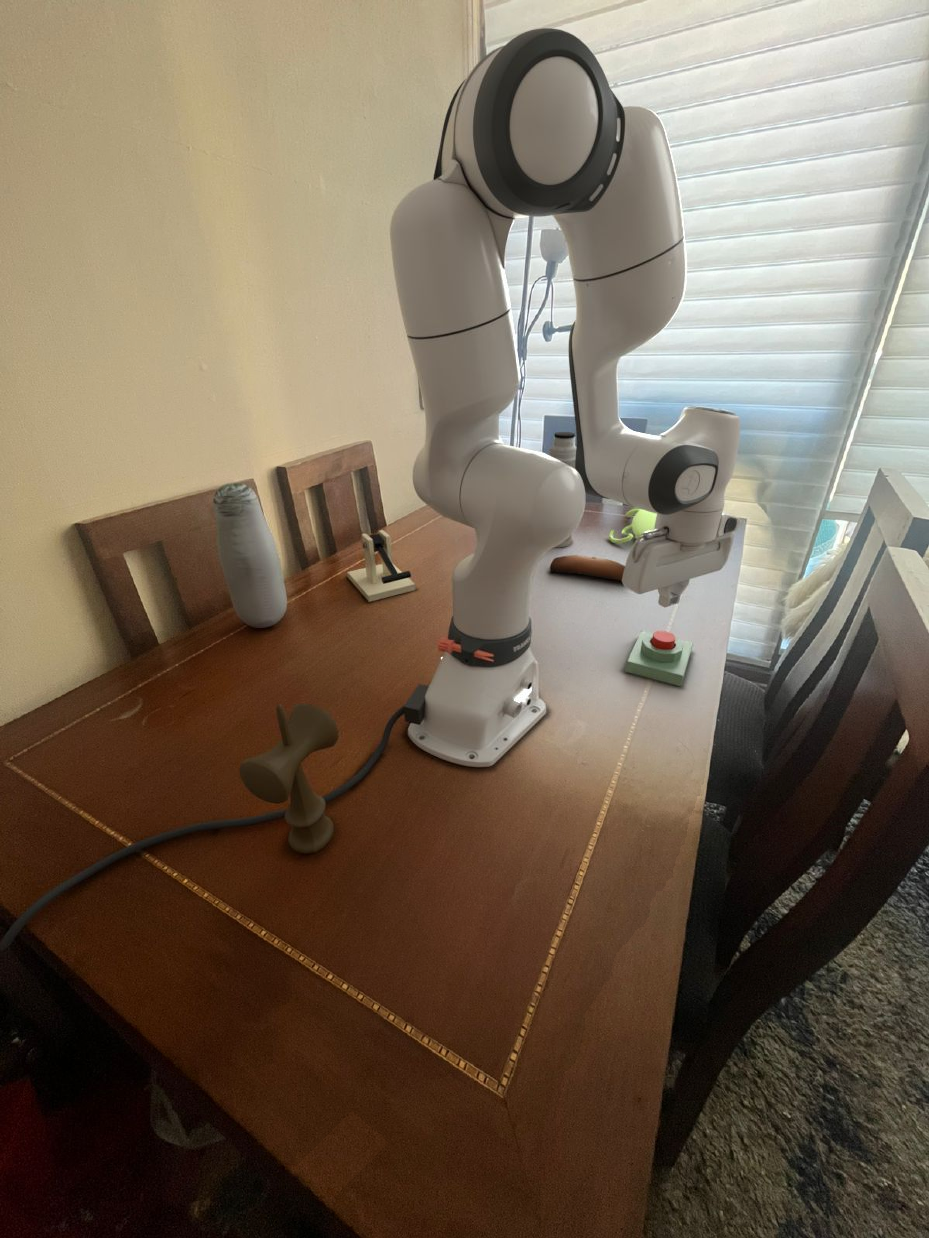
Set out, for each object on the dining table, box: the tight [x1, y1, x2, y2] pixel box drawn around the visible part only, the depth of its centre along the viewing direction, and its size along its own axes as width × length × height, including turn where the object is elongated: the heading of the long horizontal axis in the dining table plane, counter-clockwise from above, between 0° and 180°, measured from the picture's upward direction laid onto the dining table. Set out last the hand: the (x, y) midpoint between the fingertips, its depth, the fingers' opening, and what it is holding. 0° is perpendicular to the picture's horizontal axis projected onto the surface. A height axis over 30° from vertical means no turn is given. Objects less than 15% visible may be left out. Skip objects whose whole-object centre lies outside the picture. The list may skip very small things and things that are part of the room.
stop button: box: [651, 630, 677, 650], centre depth 87 cm, size 4×4×2 cm
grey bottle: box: [212, 482, 288, 629], centre depth 96 cm, size 10×10×28 cm
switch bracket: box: [347, 529, 416, 603], centre depth 115 cm, size 14×11×12 cm
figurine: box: [608, 507, 657, 545], centre depth 141 cm, size 18×27×6 cm
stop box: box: [624, 630, 694, 687], centre depth 89 cm, size 11×9×4 cm
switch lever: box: [369, 533, 412, 584], centre depth 110 cm, size 13×6×2 cm, turn 29°
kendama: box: [238, 702, 339, 855], centre depth 55 cm, size 6×10×20 cm, turn 160°
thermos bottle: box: [548, 431, 577, 548], centre depth 131 cm, size 8×8×28 cm
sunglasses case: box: [549, 554, 625, 582], centre depth 120 cm, size 18×7×7 cm, turn 68°
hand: (668, 604), depth 84 cm, fingers closed
